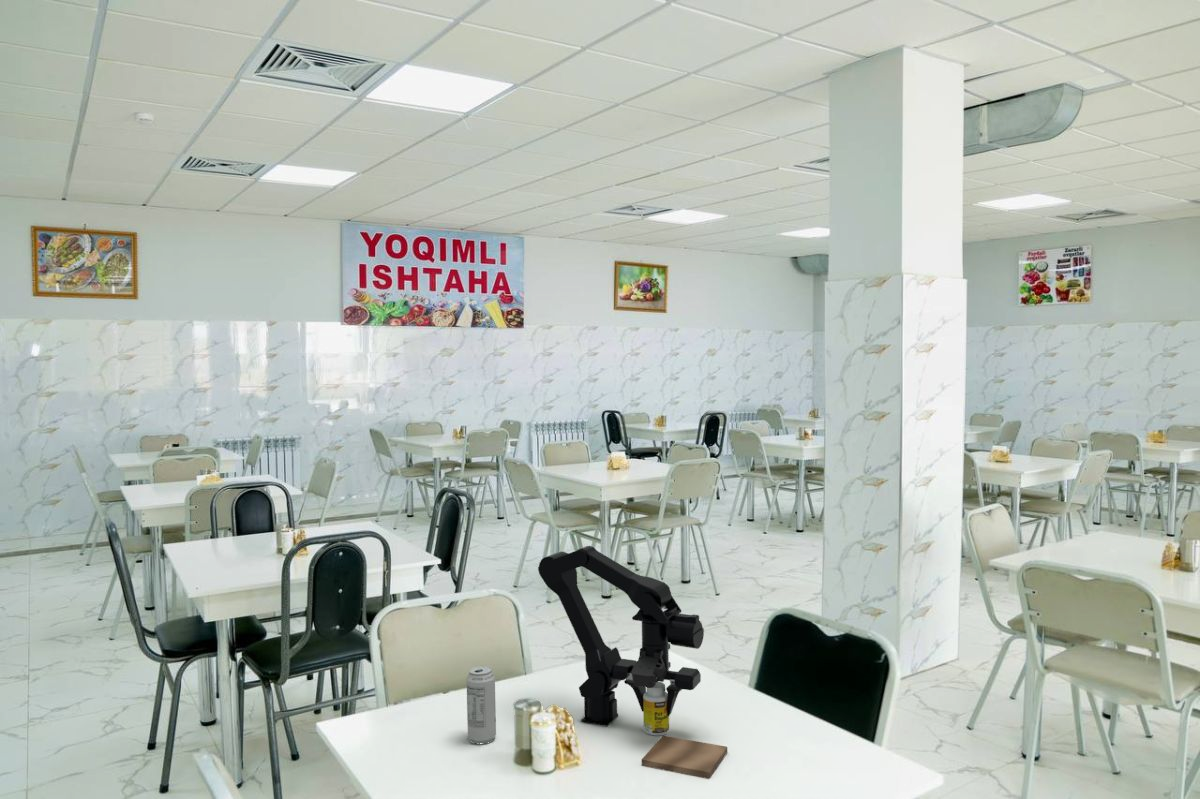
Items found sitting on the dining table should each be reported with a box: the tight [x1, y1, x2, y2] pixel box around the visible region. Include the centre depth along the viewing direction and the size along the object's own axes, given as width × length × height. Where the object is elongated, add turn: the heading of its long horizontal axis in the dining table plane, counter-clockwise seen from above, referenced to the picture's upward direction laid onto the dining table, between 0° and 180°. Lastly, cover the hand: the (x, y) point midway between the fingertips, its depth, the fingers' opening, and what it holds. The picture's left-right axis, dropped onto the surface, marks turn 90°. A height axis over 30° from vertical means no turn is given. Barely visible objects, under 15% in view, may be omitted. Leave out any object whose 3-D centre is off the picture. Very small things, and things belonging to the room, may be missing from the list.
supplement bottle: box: [642, 681, 670, 737], centre depth 183 cm, size 6×6×10 cm
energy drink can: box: [466, 665, 497, 745], centre depth 181 cm, size 6×6×15 cm
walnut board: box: [641, 734, 728, 779], centre depth 170 cm, size 14×12×1 cm
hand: (656, 712), depth 183 cm, fingers closed on supplement bottle, 5 cm apart
